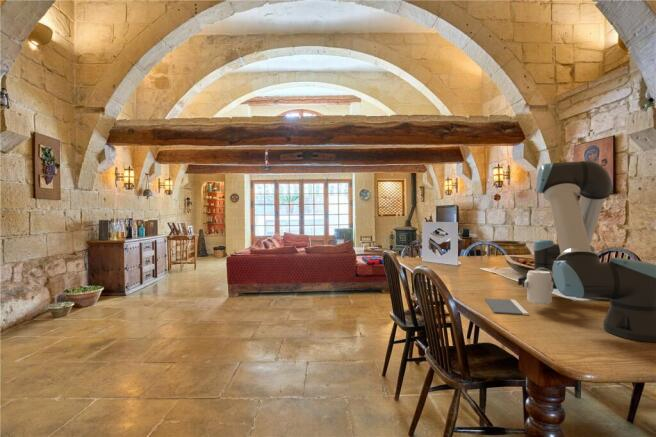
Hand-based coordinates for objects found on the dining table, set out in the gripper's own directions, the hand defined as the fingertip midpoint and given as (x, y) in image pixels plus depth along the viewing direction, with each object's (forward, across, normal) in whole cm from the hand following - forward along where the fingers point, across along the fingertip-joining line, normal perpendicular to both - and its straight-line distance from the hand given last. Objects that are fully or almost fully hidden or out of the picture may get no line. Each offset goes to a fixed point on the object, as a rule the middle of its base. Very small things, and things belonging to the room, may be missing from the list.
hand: (538, 287), depth 126 cm
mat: (-4, +12, -10) cm, 16 cm away
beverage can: (-5, 0, -7) cm, 9 cm away
